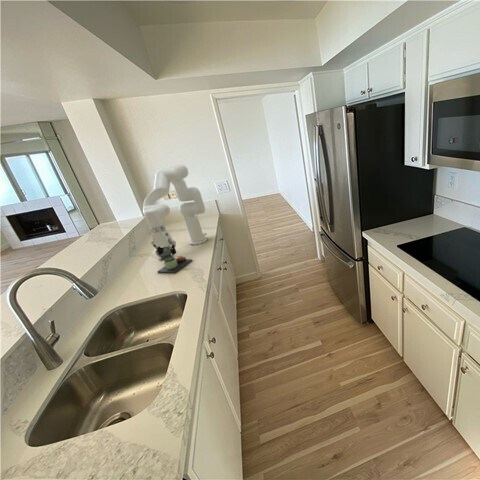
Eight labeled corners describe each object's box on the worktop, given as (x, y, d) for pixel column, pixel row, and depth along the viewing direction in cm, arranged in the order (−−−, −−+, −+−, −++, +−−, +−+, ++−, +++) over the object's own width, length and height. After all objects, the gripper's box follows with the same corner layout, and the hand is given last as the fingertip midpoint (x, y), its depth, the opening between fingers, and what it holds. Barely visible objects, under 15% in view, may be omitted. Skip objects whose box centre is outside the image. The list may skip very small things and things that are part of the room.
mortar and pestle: (166, 261, 180) (160, 245, 175) (155, 261, 183) (149, 245, 178) (178, 254, 190) (173, 238, 185) (168, 253, 193) (162, 238, 188)
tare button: (180, 258, 176) (179, 256, 175) (183, 258, 175) (182, 255, 175) (176, 260, 173) (176, 258, 173) (180, 260, 173) (179, 258, 172)
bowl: (171, 264, 171) (169, 257, 169) (180, 264, 170) (177, 257, 168) (163, 269, 165) (161, 262, 163) (172, 269, 164) (170, 262, 162)
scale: (176, 260, 180) (175, 256, 178) (192, 260, 176) (191, 256, 175) (158, 273, 165) (156, 269, 164) (175, 273, 162) (173, 269, 161)
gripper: (174, 226, 159) (183, 251, 166) (150, 226, 163) (160, 251, 170) (165, 231, 152) (175, 257, 159) (141, 231, 156) (152, 256, 163)
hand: (167, 253), depth 165 cm, fingers open, 9 cm apart
